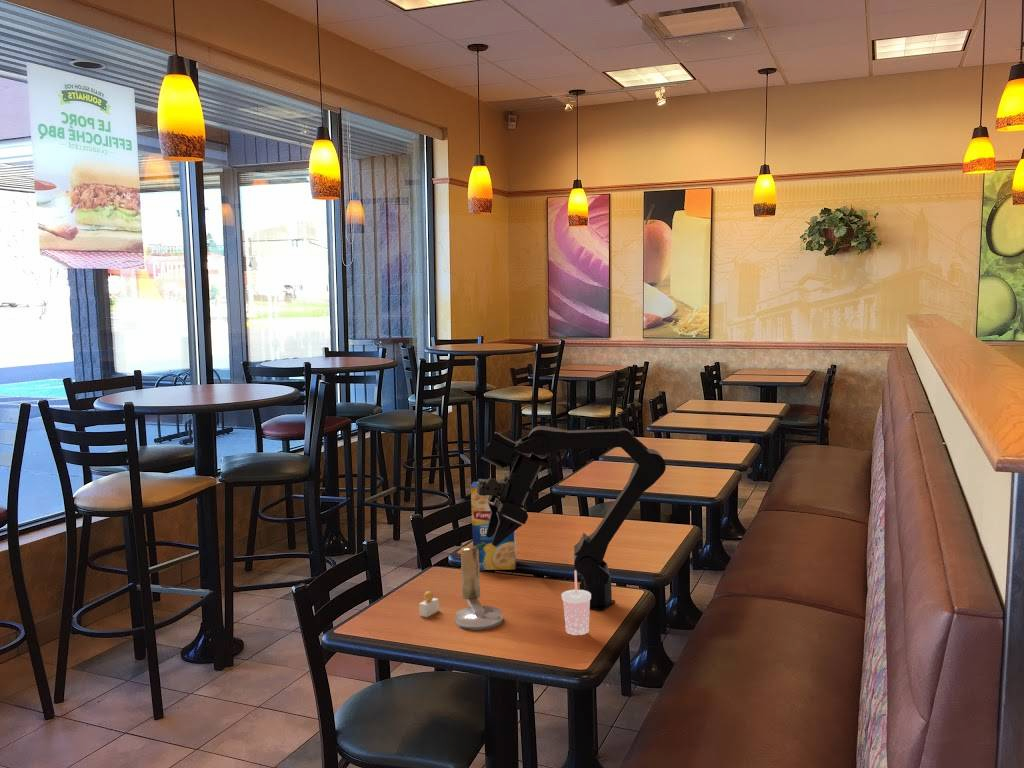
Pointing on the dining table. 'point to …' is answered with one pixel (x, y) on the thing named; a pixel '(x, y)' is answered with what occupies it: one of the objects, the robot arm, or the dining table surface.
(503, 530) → the robot arm
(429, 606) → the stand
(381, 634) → the dining table surface
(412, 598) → the dining table surface
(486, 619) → the wall lamp
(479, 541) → the beverage box
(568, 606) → the beverage cup
